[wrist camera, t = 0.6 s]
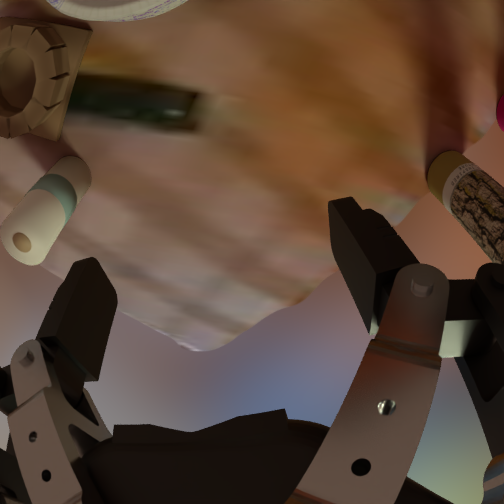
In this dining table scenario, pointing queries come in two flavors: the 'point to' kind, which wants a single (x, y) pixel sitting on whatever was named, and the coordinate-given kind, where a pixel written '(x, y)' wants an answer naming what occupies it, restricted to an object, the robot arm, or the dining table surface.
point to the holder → (37, 75)
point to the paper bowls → (114, 9)
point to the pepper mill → (501, 113)
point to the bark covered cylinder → (471, 200)
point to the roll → (45, 210)
